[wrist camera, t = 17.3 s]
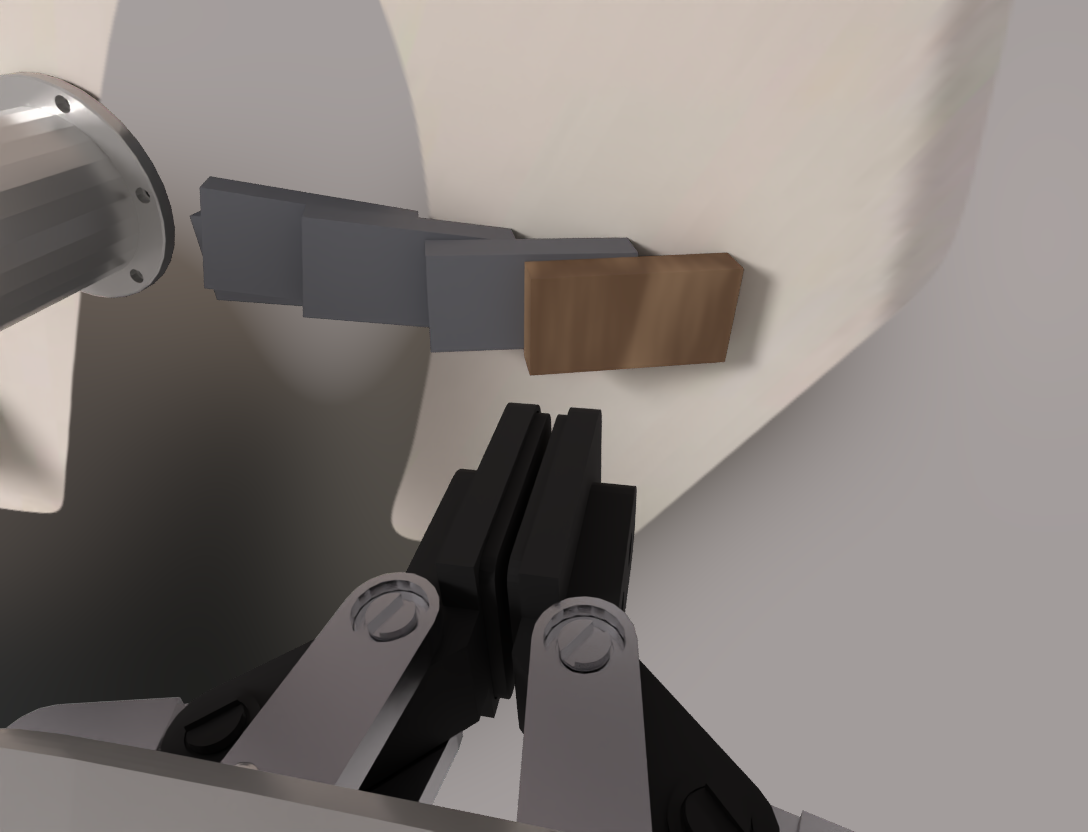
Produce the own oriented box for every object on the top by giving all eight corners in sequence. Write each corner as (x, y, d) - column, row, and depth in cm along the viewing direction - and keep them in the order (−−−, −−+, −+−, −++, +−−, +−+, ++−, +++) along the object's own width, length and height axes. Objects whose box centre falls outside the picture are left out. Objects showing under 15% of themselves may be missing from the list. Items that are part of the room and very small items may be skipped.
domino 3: (497, 316, 37) (307, 300, 35) (511, 228, 34) (306, 203, 32) (502, 333, 36) (303, 317, 33) (517, 242, 33) (301, 216, 30)
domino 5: (710, 342, 36) (523, 354, 34) (727, 252, 33) (524, 261, 31) (724, 362, 34) (529, 375, 32) (744, 268, 31) (531, 279, 30)
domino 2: (407, 298, 38) (213, 273, 35) (417, 211, 35) (209, 176, 32) (407, 313, 36) (204, 288, 33) (418, 223, 33) (199, 187, 31)
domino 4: (616, 327, 36) (429, 333, 35) (627, 237, 33) (424, 239, 32) (625, 344, 35) (430, 352, 33) (638, 252, 32) (425, 256, 30)
